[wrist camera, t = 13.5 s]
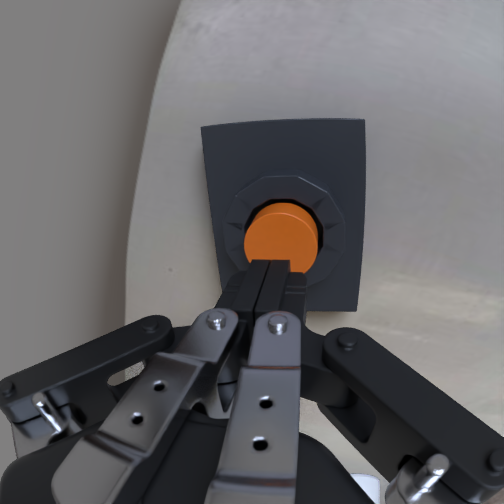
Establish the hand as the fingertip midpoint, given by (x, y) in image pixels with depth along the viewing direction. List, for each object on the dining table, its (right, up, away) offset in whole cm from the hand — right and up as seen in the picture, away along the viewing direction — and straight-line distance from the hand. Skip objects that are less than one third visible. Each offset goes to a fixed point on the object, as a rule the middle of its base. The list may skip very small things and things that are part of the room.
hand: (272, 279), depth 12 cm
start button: (+1, +2, +4) cm, 5 cm away
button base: (+2, +4, +7) cm, 8 cm away
